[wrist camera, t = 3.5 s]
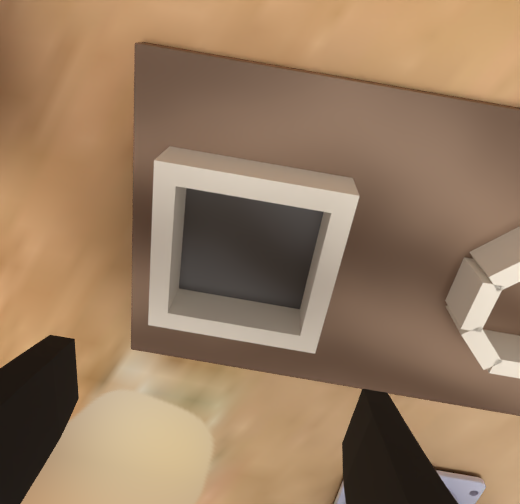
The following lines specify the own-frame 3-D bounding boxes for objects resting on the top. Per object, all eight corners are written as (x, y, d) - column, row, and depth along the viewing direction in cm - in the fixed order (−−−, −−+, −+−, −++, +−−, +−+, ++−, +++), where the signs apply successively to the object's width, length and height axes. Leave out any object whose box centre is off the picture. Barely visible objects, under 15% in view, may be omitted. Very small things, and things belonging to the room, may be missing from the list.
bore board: (549, 407, 22) (583, 457, 20) (137, 336, 22) (116, 377, 20) (727, 144, 16) (815, 167, 13) (143, 42, 16) (112, 44, 13)
